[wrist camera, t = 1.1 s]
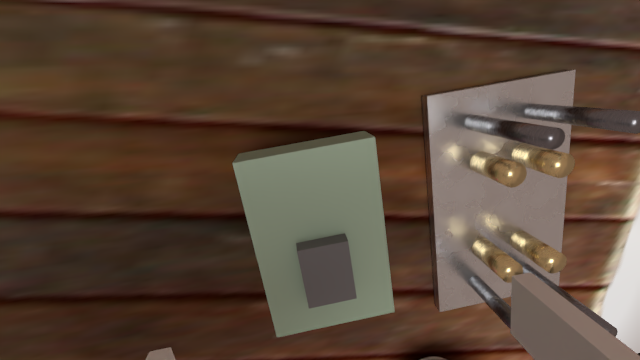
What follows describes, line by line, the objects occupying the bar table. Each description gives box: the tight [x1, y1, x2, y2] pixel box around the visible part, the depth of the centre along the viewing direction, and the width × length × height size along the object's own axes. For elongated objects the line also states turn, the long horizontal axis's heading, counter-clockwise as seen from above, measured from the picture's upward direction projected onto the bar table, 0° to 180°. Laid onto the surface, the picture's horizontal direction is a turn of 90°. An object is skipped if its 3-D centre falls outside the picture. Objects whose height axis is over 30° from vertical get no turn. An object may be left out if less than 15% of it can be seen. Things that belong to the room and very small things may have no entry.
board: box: [232, 131, 395, 337], centre depth 20 cm, size 8×12×4 cm, turn 9°
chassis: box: [422, 70, 640, 337], centre depth 24 cm, size 12×20×9 cm, turn 9°
